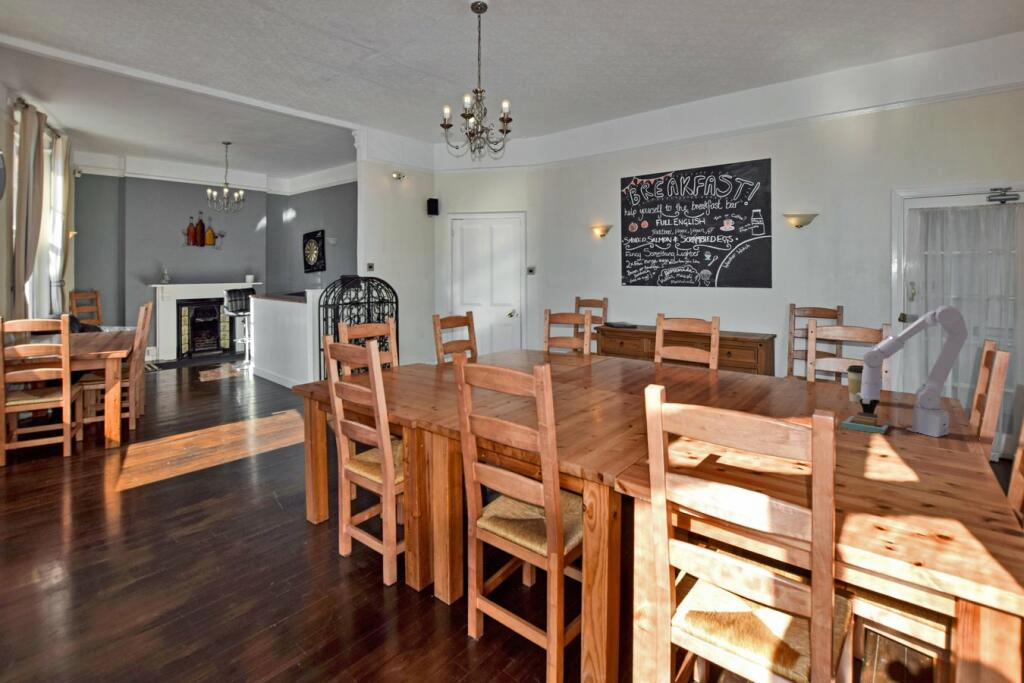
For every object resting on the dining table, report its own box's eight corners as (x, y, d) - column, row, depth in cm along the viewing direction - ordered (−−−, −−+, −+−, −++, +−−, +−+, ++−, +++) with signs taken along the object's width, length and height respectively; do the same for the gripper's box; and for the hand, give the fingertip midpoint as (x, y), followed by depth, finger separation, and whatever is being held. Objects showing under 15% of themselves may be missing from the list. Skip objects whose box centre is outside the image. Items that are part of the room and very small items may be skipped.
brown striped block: (857, 423, 194) (858, 411, 194) (876, 426, 190) (877, 414, 190) (853, 427, 189) (854, 415, 188) (873, 431, 185) (874, 418, 184)
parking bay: (849, 419, 200) (850, 414, 200) (889, 425, 191) (890, 420, 191) (841, 427, 189) (841, 422, 189) (883, 434, 181) (883, 429, 181)
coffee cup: (877, 404, 221) (880, 369, 220) (853, 404, 222) (856, 369, 220) (862, 398, 231) (865, 364, 229) (839, 398, 231) (842, 365, 229)
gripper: (861, 378, 199) (859, 413, 201) (853, 384, 188) (851, 421, 190) (884, 380, 194) (881, 416, 196) (877, 387, 184) (874, 425, 186)
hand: (868, 419), depth 193 cm, fingers closed
